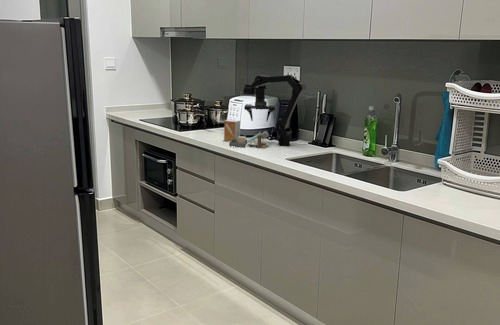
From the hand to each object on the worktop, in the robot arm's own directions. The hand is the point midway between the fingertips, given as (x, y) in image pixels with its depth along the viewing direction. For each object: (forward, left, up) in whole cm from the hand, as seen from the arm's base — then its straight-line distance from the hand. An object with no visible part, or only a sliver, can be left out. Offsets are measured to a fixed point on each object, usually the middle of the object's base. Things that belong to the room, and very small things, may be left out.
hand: (259, 121), depth 297 cm
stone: (+8, +13, -10) cm, 18 cm away
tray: (+12, +13, -13) cm, 22 cm away
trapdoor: (-1, +13, -10) cm, 16 cm away
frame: (-3, +13, -13) cm, 19 cm away
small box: (+17, 0, -13) cm, 22 cm away
